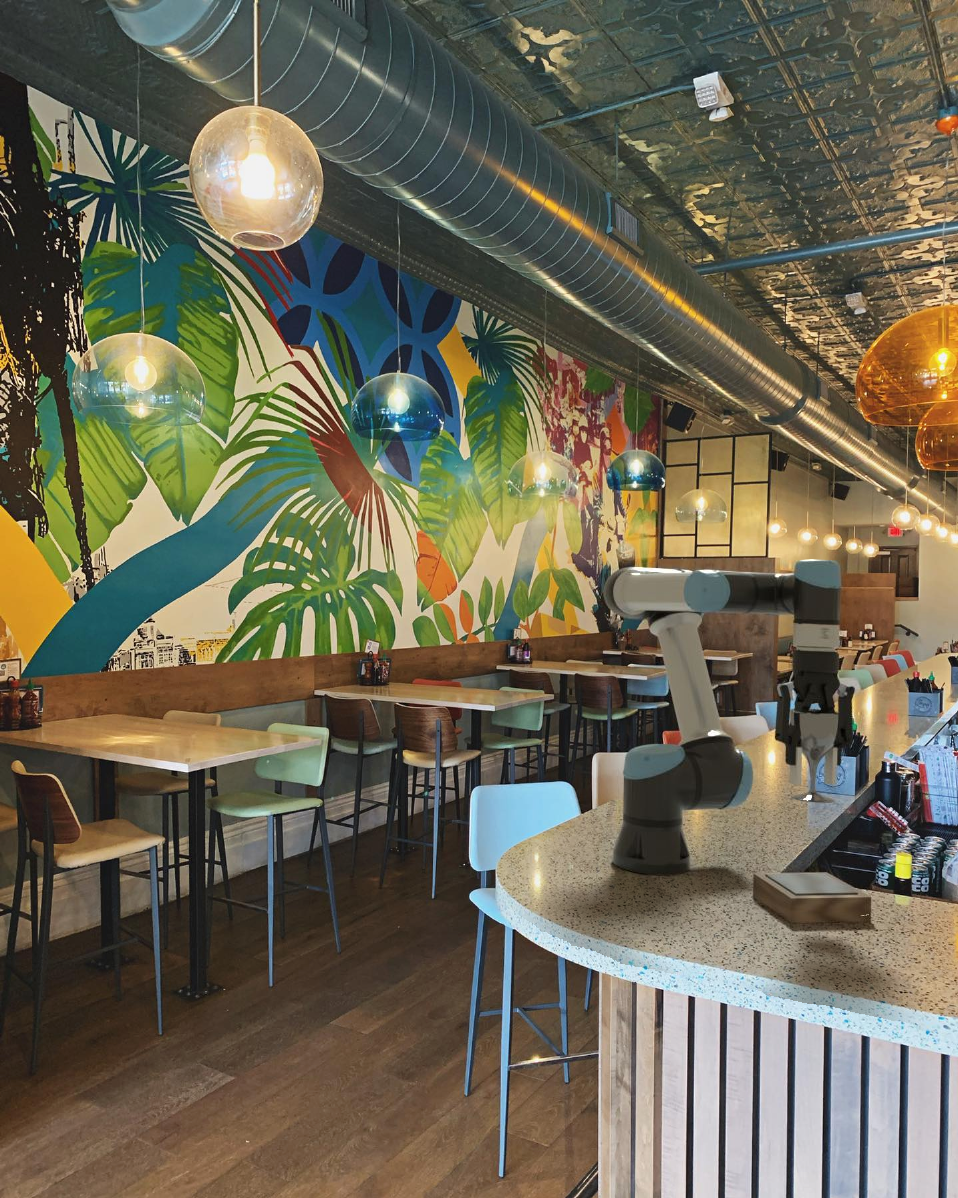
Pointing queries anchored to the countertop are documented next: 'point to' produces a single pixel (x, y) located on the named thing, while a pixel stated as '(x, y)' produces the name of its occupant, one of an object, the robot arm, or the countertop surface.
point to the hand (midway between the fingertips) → (812, 784)
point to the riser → (811, 897)
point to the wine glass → (815, 744)
